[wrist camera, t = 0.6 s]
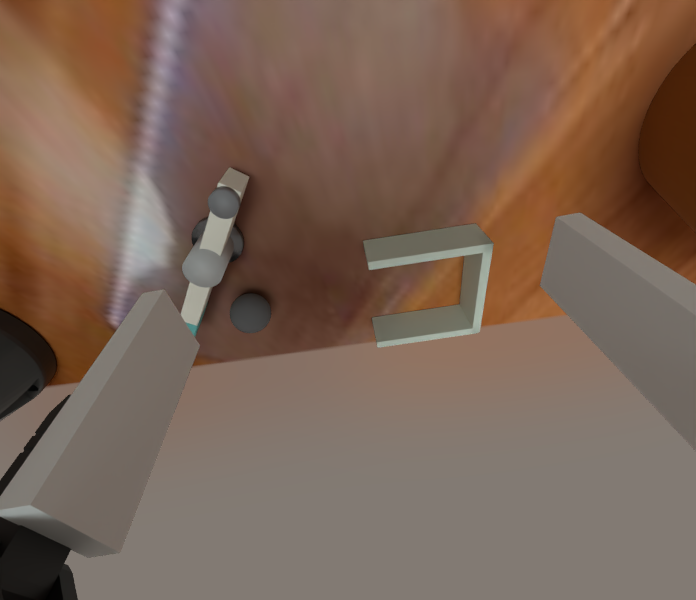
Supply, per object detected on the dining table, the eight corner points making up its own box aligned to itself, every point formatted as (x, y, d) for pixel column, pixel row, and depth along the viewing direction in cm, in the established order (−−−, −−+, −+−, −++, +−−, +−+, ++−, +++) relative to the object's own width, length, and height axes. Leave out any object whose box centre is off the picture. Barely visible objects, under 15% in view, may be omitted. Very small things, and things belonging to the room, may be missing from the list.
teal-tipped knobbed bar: (177, 316, 34) (160, 349, 31) (220, 162, 26) (204, 182, 22) (207, 325, 35) (194, 357, 32) (258, 180, 27) (248, 201, 23)
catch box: (372, 322, 38) (377, 347, 35) (363, 240, 32) (368, 262, 28) (465, 308, 38) (479, 332, 35) (475, 223, 31) (493, 243, 28)
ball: (241, 317, 36) (234, 344, 33) (228, 288, 34) (219, 313, 31) (277, 312, 36) (273, 338, 33) (267, 282, 34) (261, 307, 31)
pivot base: (205, 262, 32) (203, 266, 31) (185, 220, 29) (183, 223, 29) (250, 256, 32) (249, 259, 31) (234, 212, 29) (233, 216, 28)
